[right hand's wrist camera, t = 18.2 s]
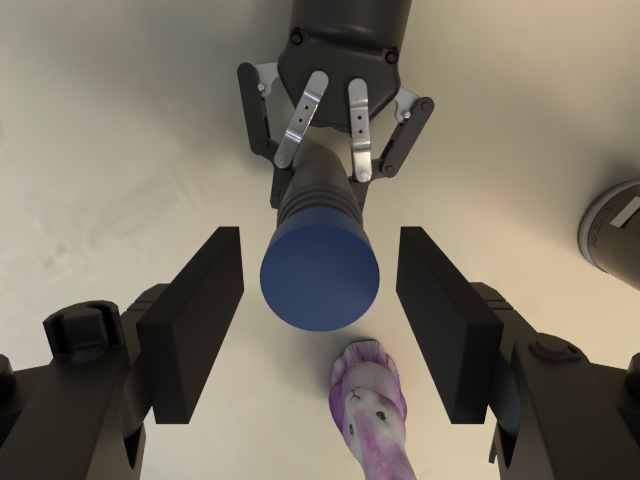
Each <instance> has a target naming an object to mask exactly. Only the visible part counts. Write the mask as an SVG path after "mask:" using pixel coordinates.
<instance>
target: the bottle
mask: <svg viewBox="0 0 640 480" xmlns="http://www.w3.org/2000/svg"><path fill="white" fill-rule="evenodd" d="M312 208H328V209H333V210H337V211H340V212H342V213H344V214H346V215H348V216H349V217H351V218H352V219H354V220H355V221H356V222H357V223H358V224H359V225H360V226H361V227H362V229H363V217H362V213H361V210H360V207H359V205H358V202H357V200H356V197H355V195H354V192H353V190H352V187H351V185H350V182H349V180H348V177H347V175H346V172H345V170H344V167H343V165H342V163H341V161H340V159H339V157H338V156H337V155H336V154H335V153H333V152H332V151H330V150H327V149H323V148H317V149H313V150H310V151H308V152H307V153H305V154H304V155H303V156H302V157H301V159H300V160H299V162H298V165H297V167H296V170H295V172H294V174H293V177H292V179H291V182H290V184H289V187H288V189H287V192H286V194H285V197H284V199H283V202H282V204H281V207H280V209H279V212H278V216H277V228H278V227H279V226H280V224H281V223H283V222H284V221H285V220H286V219H287V218H289V217H290V216H292V215H294V214H295V213H298V212H300V211H303V210H307V209H312Z"/></svg>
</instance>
